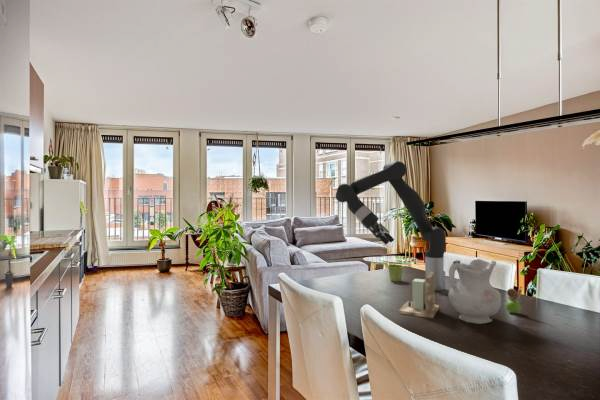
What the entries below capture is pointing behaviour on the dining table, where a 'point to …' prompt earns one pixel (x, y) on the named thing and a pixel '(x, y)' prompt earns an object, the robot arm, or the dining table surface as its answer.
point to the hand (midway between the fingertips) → (390, 242)
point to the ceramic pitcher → (474, 291)
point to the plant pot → (395, 272)
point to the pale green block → (419, 293)
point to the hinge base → (430, 306)
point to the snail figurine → (513, 300)
